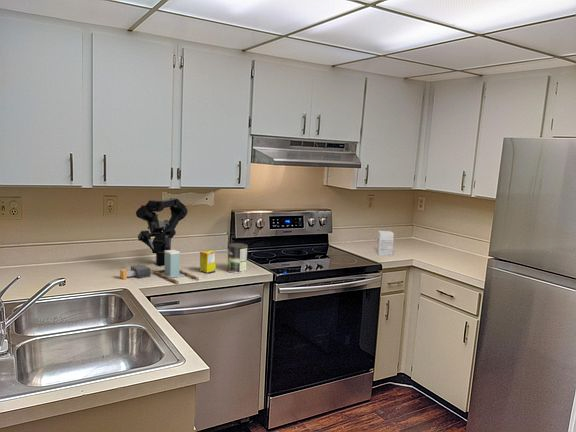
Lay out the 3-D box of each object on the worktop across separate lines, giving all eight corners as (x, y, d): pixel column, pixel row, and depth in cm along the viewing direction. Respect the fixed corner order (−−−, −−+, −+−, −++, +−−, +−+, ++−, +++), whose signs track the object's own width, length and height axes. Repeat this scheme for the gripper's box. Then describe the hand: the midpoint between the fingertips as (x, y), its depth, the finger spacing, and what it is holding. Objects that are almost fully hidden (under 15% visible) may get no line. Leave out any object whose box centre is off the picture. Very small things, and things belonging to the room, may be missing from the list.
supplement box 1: (208, 269, 247) (208, 249, 246) (215, 272, 244) (216, 251, 242) (199, 271, 243) (199, 251, 241) (207, 274, 239) (207, 253, 238)
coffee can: (230, 273, 241) (230, 247, 239) (225, 268, 251) (226, 243, 249) (249, 272, 245) (249, 246, 243) (243, 267, 254) (244, 242, 252)
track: (153, 273, 236) (153, 271, 236) (175, 270, 244) (175, 267, 244) (176, 284, 220) (176, 281, 220) (198, 279, 228) (198, 277, 228)
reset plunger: (120, 277, 226) (119, 269, 226) (133, 275, 231) (133, 267, 231) (123, 279, 223) (123, 271, 223) (137, 277, 228) (137, 269, 228)
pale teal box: (164, 273, 235) (164, 250, 233) (173, 271, 239) (173, 249, 237) (170, 276, 231) (170, 253, 229) (179, 274, 234) (179, 251, 232)
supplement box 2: (376, 252, 307) (377, 230, 305) (390, 253, 307) (391, 231, 305) (378, 255, 298) (380, 232, 296) (392, 256, 298) (394, 233, 296)
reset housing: (130, 274, 233) (130, 266, 232) (141, 272, 237) (141, 264, 236) (138, 278, 226) (138, 270, 225) (150, 276, 230) (150, 268, 230)
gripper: (141, 215, 230) (150, 242, 224) (175, 214, 242) (184, 239, 236) (133, 226, 237) (142, 253, 231) (167, 225, 249) (175, 250, 243)
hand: (161, 249), depth 235 cm, fingers open, 9 cm apart
